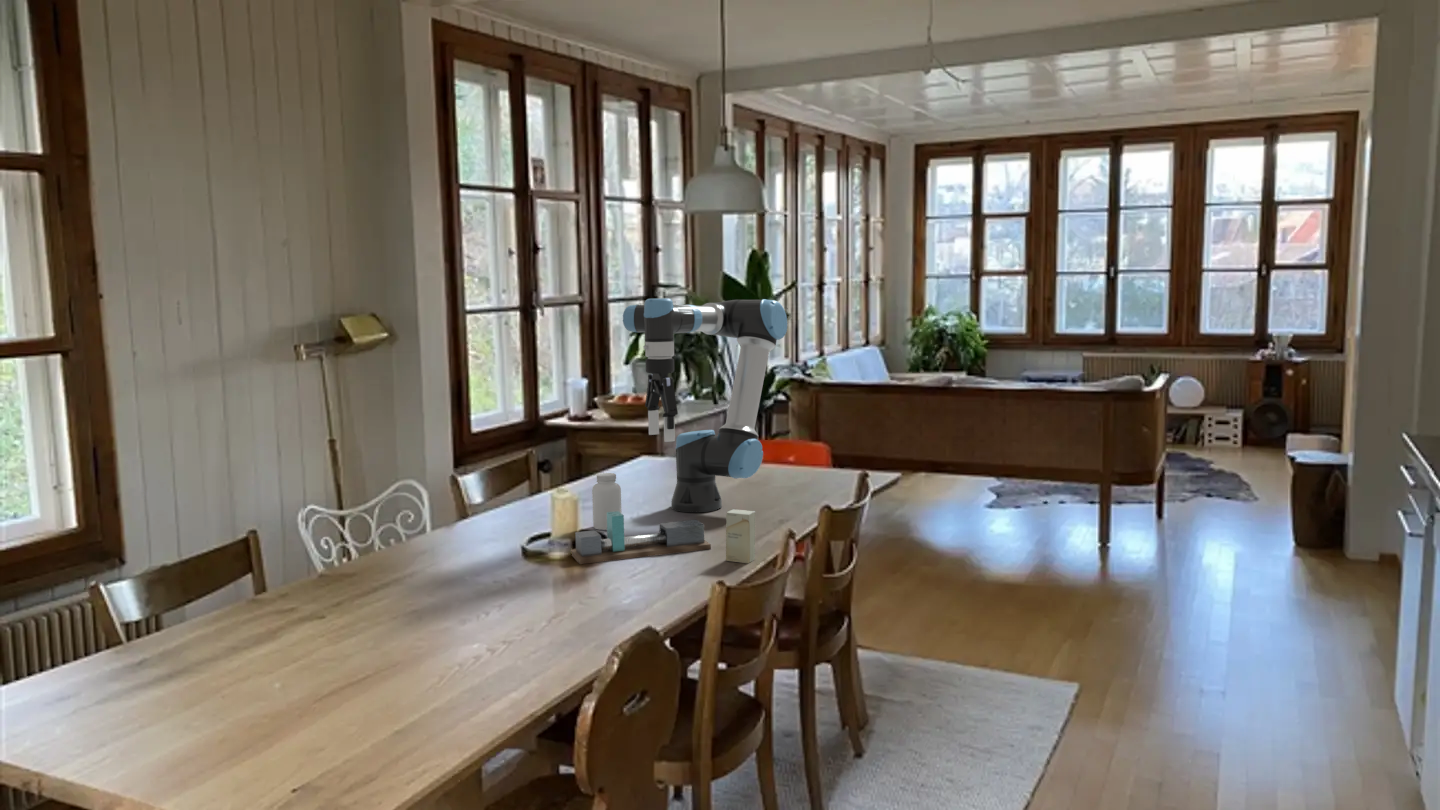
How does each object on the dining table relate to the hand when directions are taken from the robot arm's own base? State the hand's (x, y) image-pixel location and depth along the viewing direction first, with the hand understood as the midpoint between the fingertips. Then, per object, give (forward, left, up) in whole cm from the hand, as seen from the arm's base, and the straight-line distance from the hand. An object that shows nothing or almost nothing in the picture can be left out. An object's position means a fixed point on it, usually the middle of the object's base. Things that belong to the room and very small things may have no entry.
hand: (661, 438), depth 275 cm
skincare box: (-10, +30, -27) cm, 42 cm away
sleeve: (-1, +12, -26) cm, 28 cm away
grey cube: (+24, +12, -26) cm, 37 cm away
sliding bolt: (+13, +12, -25) cm, 31 cm away
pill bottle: (+11, -17, -27) cm, 34 cm away
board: (+10, +12, -27) cm, 31 cm away
